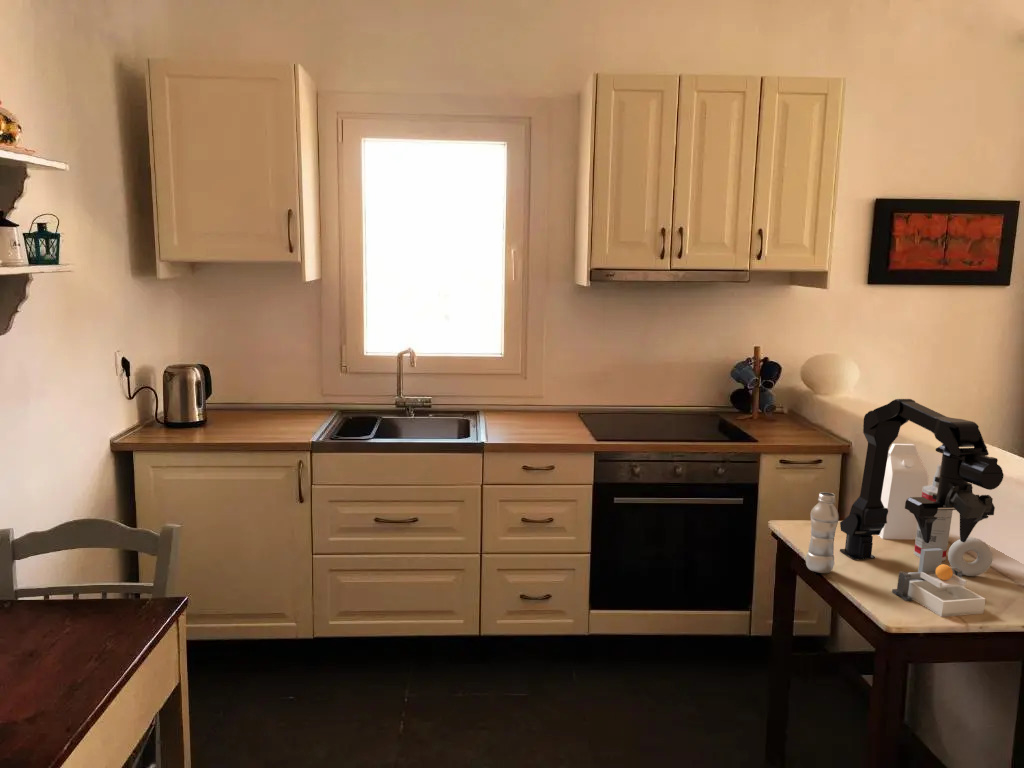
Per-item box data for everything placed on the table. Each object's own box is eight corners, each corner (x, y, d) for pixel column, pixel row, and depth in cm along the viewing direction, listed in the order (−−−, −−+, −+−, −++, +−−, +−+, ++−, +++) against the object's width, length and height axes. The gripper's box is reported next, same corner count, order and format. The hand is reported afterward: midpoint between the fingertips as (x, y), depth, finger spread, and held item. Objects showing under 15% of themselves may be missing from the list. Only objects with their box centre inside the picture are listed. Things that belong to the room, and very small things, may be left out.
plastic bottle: (835, 577, 198) (844, 499, 194) (806, 574, 199) (815, 496, 196) (830, 567, 204) (839, 491, 200) (802, 564, 205) (810, 489, 202)
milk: (901, 525, 239) (913, 439, 234) (923, 539, 227) (935, 450, 223) (862, 524, 238) (873, 438, 233) (882, 538, 226) (894, 449, 222)
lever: (885, 582, 195) (890, 540, 193) (928, 579, 198) (934, 538, 196) (926, 607, 182) (932, 563, 180) (972, 603, 185) (979, 560, 183)
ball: (931, 576, 187) (933, 562, 186) (943, 575, 188) (945, 561, 187) (942, 583, 183) (944, 568, 183) (955, 582, 184) (957, 567, 184)
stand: (891, 592, 191) (894, 569, 190) (948, 588, 194) (951, 565, 193) (906, 601, 186) (909, 577, 185) (964, 597, 190) (967, 573, 189)
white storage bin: (905, 595, 189) (907, 581, 189) (946, 592, 192) (948, 578, 191) (941, 616, 179) (943, 602, 178) (983, 613, 181) (985, 598, 181)
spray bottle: (933, 562, 210) (946, 470, 206) (907, 552, 216) (919, 462, 212) (952, 558, 214) (965, 467, 209) (926, 548, 220) (938, 460, 216)
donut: (987, 575, 203) (993, 538, 201) (991, 581, 200) (997, 542, 198) (943, 569, 206) (949, 532, 204) (947, 575, 202) (952, 537, 201)
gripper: (941, 487, 172) (931, 557, 174) (1018, 486, 175) (1007, 554, 177) (907, 472, 182) (899, 538, 185) (980, 471, 186) (971, 536, 188)
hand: (944, 542), depth 184 cm, fingers open, 9 cm apart
